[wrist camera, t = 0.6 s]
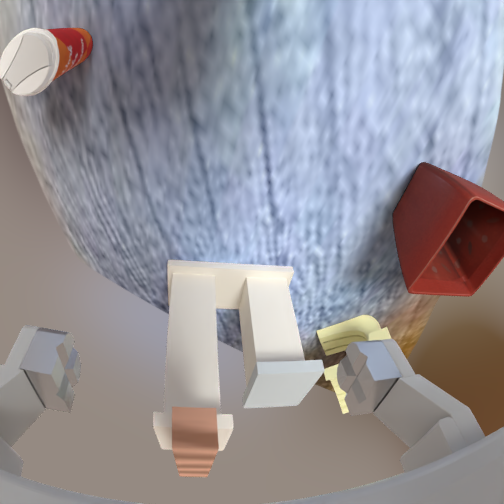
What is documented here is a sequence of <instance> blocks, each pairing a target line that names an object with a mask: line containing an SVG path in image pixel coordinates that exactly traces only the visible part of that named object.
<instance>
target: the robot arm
mask: <svg viewBox="0 0 504 504" xmlns="http://www.w3.org/2000/svg"><path fill="white" fill-rule="evenodd" d="M74 342H75V341H74V338H73V336H72V334H71V333H69V332H63V331H58V330H51V329H47V328H40V327H35V326H29V325H26V326H24V327H23V328H22V330H21V332H20V334H19V336H18V338H17V340H16V342H15V344H14V346H13V348H12V350H11V352H10V354H9V356H8V359H7V361H6V363H5V365H0V504H143V503H135V502H127V501H120V500H113V499H107V498H101V497H96V496H91V495H86V494H81V493H76V492H72V491H68V490H64V489H60V488H57V487H53V486H49V485H46V484H42V483H39V482H36V481H32V480H29V479H26V478H23V477H21V472H22V467H23V460H22V458H21V457H20V456H19V455H18V454H17V453H16V452H15V451H14V450H13V449H12V448H11V447H12V446H13V445H14V443H15V442H16V441H17V440H18V439H19V438H20V437H21V436H22V435H23V433H25V431H26V430H27V429H28V428H29V427H30V426H31V425H32V424H33V423H34V422H35V421H36V420H37V418H38V417H39V416H40V415H41V414H42V413H43V412H44V411H45V408H47V409H52V410H57V411H63V412H69V413H70V412H71V408H72V404H73V400H74V396H75V394H74V391H73V389H72V387H73V386H75V385H76V384H77V383H78V381H79V377H80V368H81V363H80V357H79V354H78V352H77V351H76V350H75V349H74V348H73V345H74ZM345 351H346V353H347V356H346V357H344V358H343V359H342V360H340V363H339V365H338V367H337V381H338V384H339V387H340V388H341V389H342V390H343V391H344V392H346V396H345V399H344V400H345V402H346V405H347V408H348V410H349V413H350V415H351V416H352V415H360V414H366V413H372V412H374V413H373V414H374V415H375V416H376V417H377V418H378V419H379V420H381V421H382V422H383V423H384V424H385V425H386V426H387V427H388V428H389V429H390V430H391V431H392V432H393V433H394V434H396V435H397V436H398V437H399V438H400V439H401V440H402V441H403V442H404V443H405V444H406V445H407V446H409V447H410V449H409V450H408V451H407V452H406V453H405V454H404V455H402V457H401V459H400V461H401V464H402V466H403V469H404V472H405V473H402V474H399V475H396V476H393V477H390V478H387V479H384V480H380V481H377V482H374V483H370V484H367V485H363V486H359V487H355V488H351V489H347V490H343V491H339V492H334V493H329V494H325V495H319V496H314V497H308V498H303V499H296V500H290V501H282V502H274V503H265V504H504V427H503V428H501V429H499V430H497V431H496V432H494V433H492V434H490V435H488V436H487V437H485V435H484V434H483V432H482V430H481V428H480V426H479V425H478V423H477V421H476V419H475V417H474V416H473V414H472V412H471V411H470V409H469V408H468V407H467V406H465V405H464V404H462V403H461V402H459V401H458V400H456V399H455V398H453V397H452V396H450V395H449V394H447V393H446V392H444V391H443V390H441V389H440V388H439V387H437V386H435V385H434V384H433V383H431V382H430V381H428V380H427V379H425V378H424V377H422V376H421V375H419V374H418V375H415V373H414V372H413V370H412V368H411V366H410V364H409V363H408V361H407V359H406V358H405V356H404V354H403V353H402V351H401V349H400V348H399V346H398V344H397V343H396V341H395V340H393V339H384V340H372V341H360V342H351V343H350V344H349V345H348V346H347V348H346V350H345Z"/></svg>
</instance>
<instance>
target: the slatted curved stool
mask: <svg viewBox="0 0 504 504" xmlns="http://www.w3.org/2000/svg"><path fill="white" fill-rule="evenodd" d="M317 334H318V337H319V340H320V342H321V345H322V347H323V349H324V351H325V354H326V356H328V355H331V354H334V353H338V352H341V351H345V350H346V348H347V346H348V345H349V344H350V343H351V342H360V341H372V340H384V339H391V336H390V334H389V331H388V329H387V327H386V328H383V329H381V328H380V325H379V323H378V322H377V320H375V319H374V318H373V317H371V316H368V315H361V316H359V317H356V318H353V319H350V320H347V321H345V322H342V323H339V324H336V325H333V326H330V327H327V328H324V329H321V330H318V331H317ZM338 365H339V364H337V365H334V366H331V367H328V368H325V369H324V370H325V371H324V375H325V379H326V381H327V380H330V381H331V383H332V385H333V387H334V390H335V392H336V394H337V398H338V400H339V403H340V406H341V409H342V412H343V414H344V413H347V412H349V410H348V408H347V405H346V402H345V400H344V399H345V396H346V392H344V391H343V390H342V389H341V388H340V387H339V384H338V381H337V367H338Z"/></svg>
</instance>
